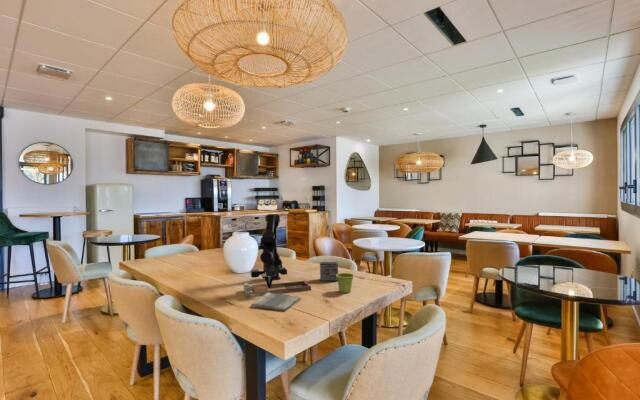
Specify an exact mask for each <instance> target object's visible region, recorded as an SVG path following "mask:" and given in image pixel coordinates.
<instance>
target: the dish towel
mask: <svg viewBox="0 0 640 400" xmlns="http://www.w3.org/2000/svg"><path fill="white" fill-rule="evenodd" d="M301 300H302V297H300V296H298V295H290V294H286V293H280V294H279V293H276V294H273V293H269V292H267V293H266V294H265V295H263V296H260V298H258V299H257V300H255V301H254V302H253V303H251V305H250V307H251V308H252V309H253V308H254V309H259V310H269V311H275V312H283V313H285V312H287V311H288V310H289V309H291V308H293V307H294V306H295V305H296V304H298V303H299V302H300V301H301Z"/></svg>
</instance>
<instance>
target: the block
mask: <svg viewBox="0 0 640 400" xmlns="http://www.w3.org/2000/svg"><path fill="white" fill-rule="evenodd" d="M251 286H252V290H251V292H258V291H267V290H269V289H268V286H267V283H258V284H252V285H251Z"/></svg>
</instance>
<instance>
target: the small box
mask: <svg viewBox="0 0 640 400" xmlns="http://www.w3.org/2000/svg"><path fill="white" fill-rule="evenodd" d="M319 269H320V270H319V275H320V277H319V278H320V279H319V280H320V281H319V282H321V283H322V282H326V283H327V282H335V283H336V282H337V283H338V279H337V276H336V275H337V274H339V262H338V261H331V262H330V261H323V262H322V261H321V262H320V263H319Z"/></svg>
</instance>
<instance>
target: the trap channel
mask: <svg viewBox="0 0 640 400" xmlns="http://www.w3.org/2000/svg"><path fill="white" fill-rule="evenodd" d="M277 288H279V289H277ZM305 291H306V292H307V291H312V286H311V285H310V284H309V283H308V282H307V281H306V280H300V281H288V282H280V283H279V282H278V283H272V284H271V287H270V289H268V290H267V291H258V292H252V285H249V283H248V282H244V283H243V292H244V295H245V298H252V297H254V298H255V297H259V296H260V297H262V296H264V295H265V294H266V293H267V292H269V293H273V294H276V293H279V294H286V293H296V292H305Z"/></svg>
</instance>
